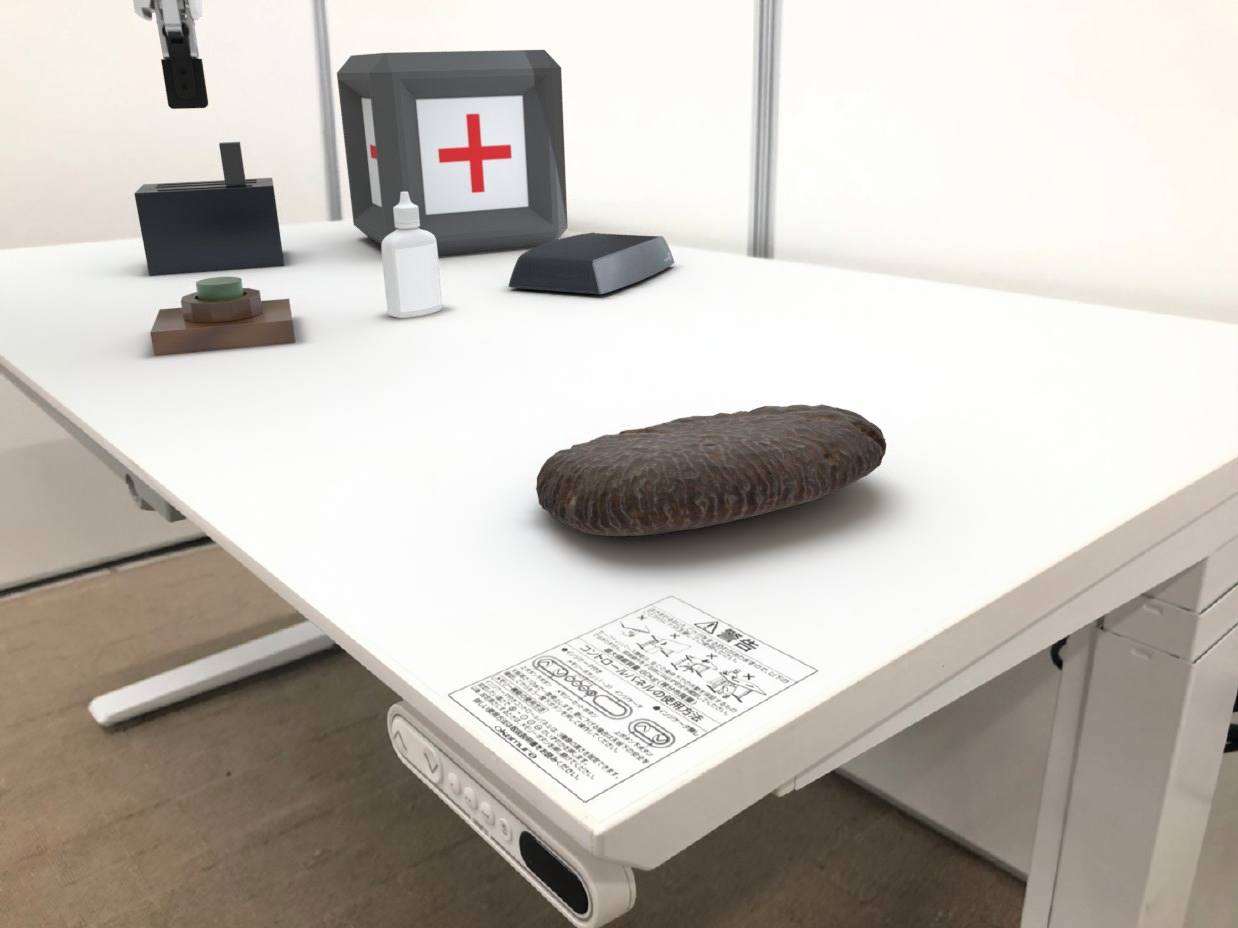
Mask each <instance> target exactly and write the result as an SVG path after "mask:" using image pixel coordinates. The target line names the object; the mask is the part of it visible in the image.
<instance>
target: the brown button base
mask: <svg viewBox="0 0 1238 928" xmlns="http://www.w3.org/2000/svg"><path fill="white" fill-rule="evenodd" d="M243 293H244V296H242V297H238V298H233V299H228V300H216V301H206V300H198V294H197V291H195V292H192V293H188V294H186V295H183V296H181V299H180V304H181V307H172V308H171V307H170V308H161V309H160V308H159V310H158V312H157V315H156V317H155V320H154V322H153V324H152V327H151V329H150V332H149V335H150V340H151V345H152V350H153V356H154V357H160V356H161V357H162V356H171V355H180V354H181V355H182V354H192V353H203V352H212V351H224V350H232V349H233V350H234V349H235V350H236V349H245V348H256V347H267V346H276V345H278V346H279V345H286V344H287V345H289V344H295V343H296V338H295V337H296V335H295V329H294V321H293V314H292V309H291V301H290V298H280V299H279V298H278V299H268V300H262V295H261V291H260V290H259V289H255V288H250V287H243Z"/></svg>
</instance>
